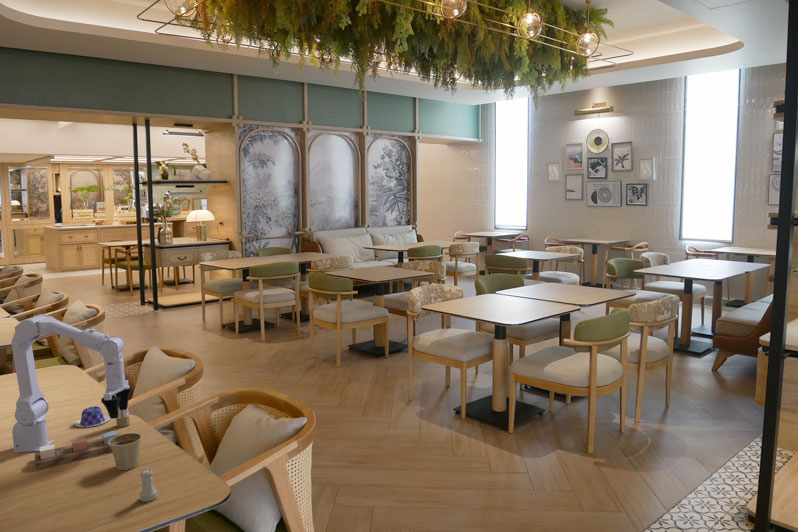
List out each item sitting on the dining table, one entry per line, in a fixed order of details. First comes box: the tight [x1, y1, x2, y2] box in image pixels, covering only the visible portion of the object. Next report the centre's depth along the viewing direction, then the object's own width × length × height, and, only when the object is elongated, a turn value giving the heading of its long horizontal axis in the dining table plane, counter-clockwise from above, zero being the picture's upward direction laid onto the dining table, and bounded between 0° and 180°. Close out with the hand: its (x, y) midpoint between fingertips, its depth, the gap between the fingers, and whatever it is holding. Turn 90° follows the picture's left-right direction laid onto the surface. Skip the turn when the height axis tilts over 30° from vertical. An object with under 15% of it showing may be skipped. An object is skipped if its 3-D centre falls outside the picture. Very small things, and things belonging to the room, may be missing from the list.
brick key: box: [71, 436, 88, 452], centre depth 198 cm, size 4×4×3 cm
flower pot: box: [108, 432, 143, 471], centre depth 188 cm, size 9×9×9 cm
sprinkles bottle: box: [114, 395, 131, 428], centre depth 220 cm, size 5×5×13 cm
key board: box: [34, 434, 121, 471], centre depth 198 cm, size 25×9×2 cm, turn 122°
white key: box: [39, 443, 56, 460], centre depth 193 cm, size 4×4×3 cm
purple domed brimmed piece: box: [73, 405, 111, 428], centre depth 226 cm, size 12×12×5 cm
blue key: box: [102, 430, 119, 445], centre depth 202 cm, size 4×4×3 cm
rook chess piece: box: [139, 467, 158, 503], centre depth 167 cm, size 4×4×8 cm
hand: (118, 413), depth 204 cm, fingers open, 7 cm apart
